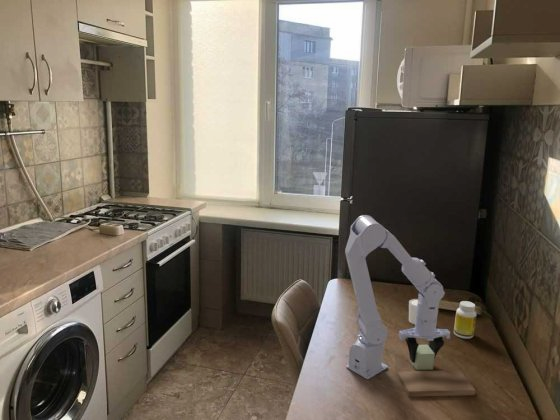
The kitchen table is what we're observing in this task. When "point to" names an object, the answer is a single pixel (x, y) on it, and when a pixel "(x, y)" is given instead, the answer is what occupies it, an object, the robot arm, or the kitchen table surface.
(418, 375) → the walnut board
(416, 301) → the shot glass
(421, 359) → the sage cube
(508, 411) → the kitchen table surface
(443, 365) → the kitchen table surface
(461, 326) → the pill bottle
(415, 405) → the kitchen table surface
